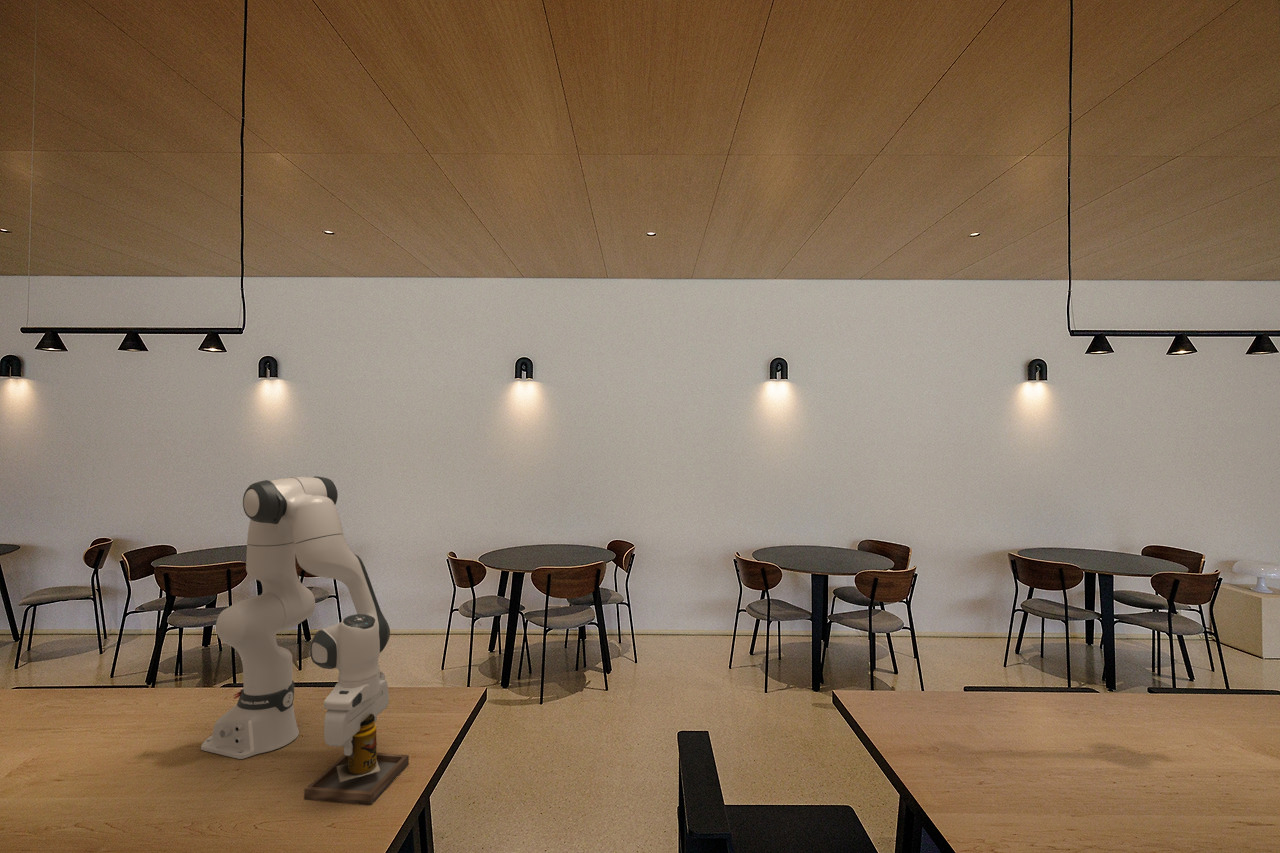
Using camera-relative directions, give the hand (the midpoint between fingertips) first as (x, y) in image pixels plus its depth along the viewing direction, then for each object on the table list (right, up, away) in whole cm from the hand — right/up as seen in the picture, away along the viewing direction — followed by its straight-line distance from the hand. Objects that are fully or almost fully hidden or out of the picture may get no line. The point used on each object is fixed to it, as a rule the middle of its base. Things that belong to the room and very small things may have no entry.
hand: (359, 745), depth 139 cm
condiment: (0, -6, 0) cm, 6 cm away
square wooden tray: (0, -8, 0) cm, 8 cm away
